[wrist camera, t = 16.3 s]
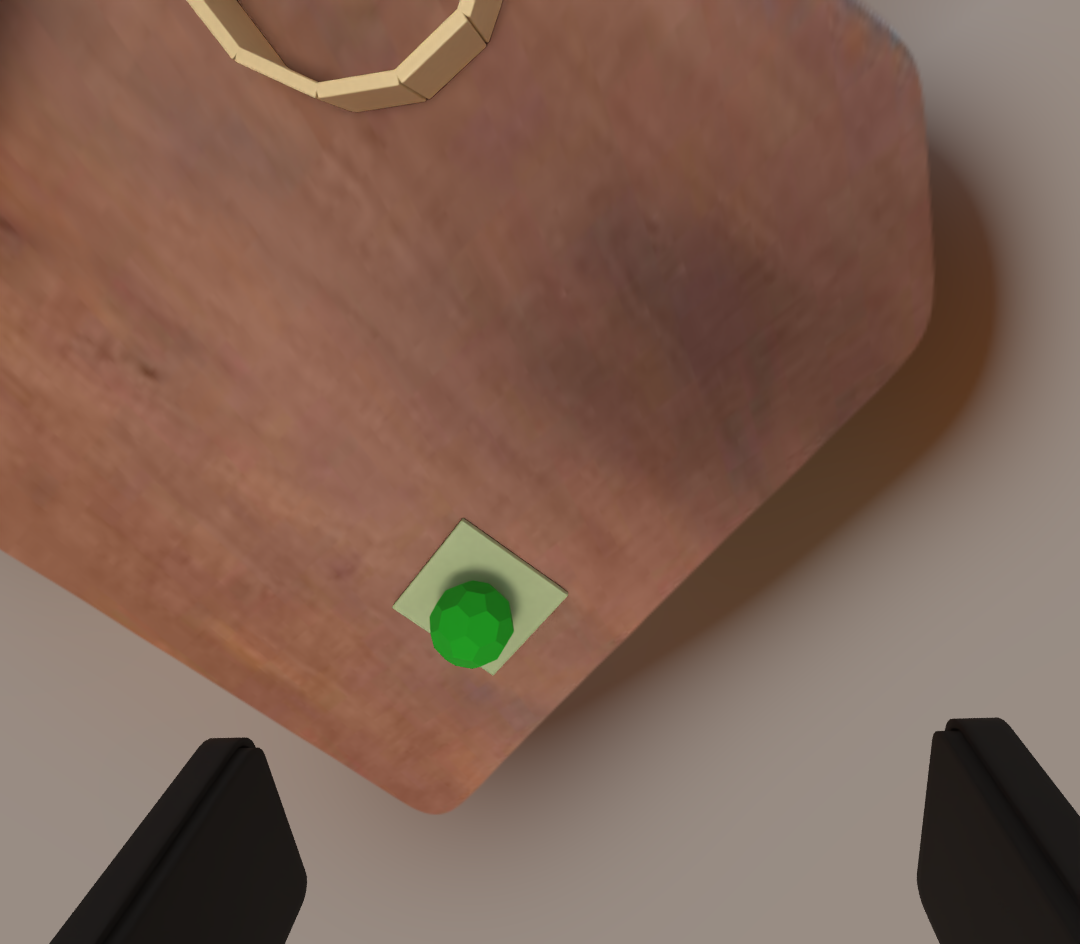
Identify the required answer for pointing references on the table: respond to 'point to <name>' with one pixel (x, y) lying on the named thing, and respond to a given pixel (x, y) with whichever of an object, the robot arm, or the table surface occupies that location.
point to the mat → (489, 563)
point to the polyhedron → (471, 624)
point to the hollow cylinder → (370, 91)
